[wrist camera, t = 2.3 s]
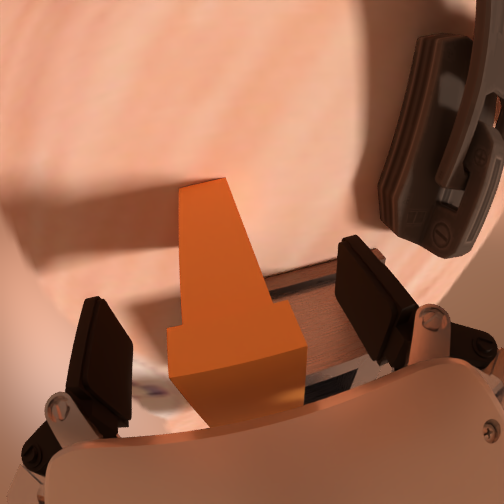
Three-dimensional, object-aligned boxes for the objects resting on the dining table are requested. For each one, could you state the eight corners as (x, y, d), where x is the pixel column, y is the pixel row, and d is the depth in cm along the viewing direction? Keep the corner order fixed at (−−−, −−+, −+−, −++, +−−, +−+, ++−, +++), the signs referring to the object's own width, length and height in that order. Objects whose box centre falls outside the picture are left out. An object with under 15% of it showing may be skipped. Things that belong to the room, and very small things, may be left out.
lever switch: (182, 297, 18) (254, 641, 2) (377, 248, 20) (534, 501, 3) (233, 406, 30) (277, 568, 13) (346, 372, 31) (411, 520, 15)
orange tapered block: (171, 182, 14) (168, 377, 5) (230, 169, 14) (307, 345, 6) (191, 252, 16) (216, 433, 8) (242, 240, 17) (303, 413, 8)
